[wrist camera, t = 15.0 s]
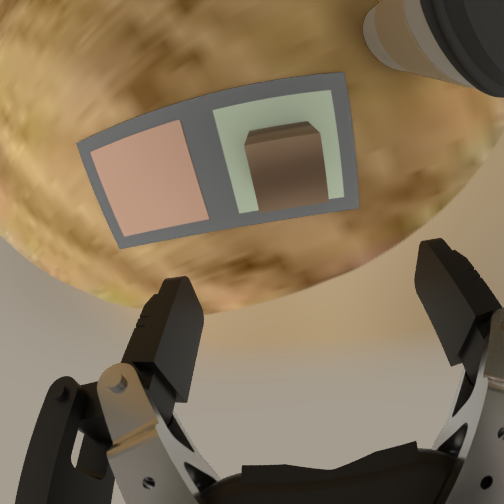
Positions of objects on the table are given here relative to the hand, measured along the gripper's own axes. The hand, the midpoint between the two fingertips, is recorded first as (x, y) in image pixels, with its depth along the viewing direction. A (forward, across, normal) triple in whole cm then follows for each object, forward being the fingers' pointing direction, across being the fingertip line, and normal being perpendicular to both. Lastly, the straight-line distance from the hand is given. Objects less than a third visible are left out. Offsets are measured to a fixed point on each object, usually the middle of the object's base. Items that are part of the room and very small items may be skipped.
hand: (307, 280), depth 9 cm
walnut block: (+17, 0, 0) cm, 17 cm away
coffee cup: (+18, -12, -10) cm, 24 cm away
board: (+18, +6, 0) cm, 19 cm away
